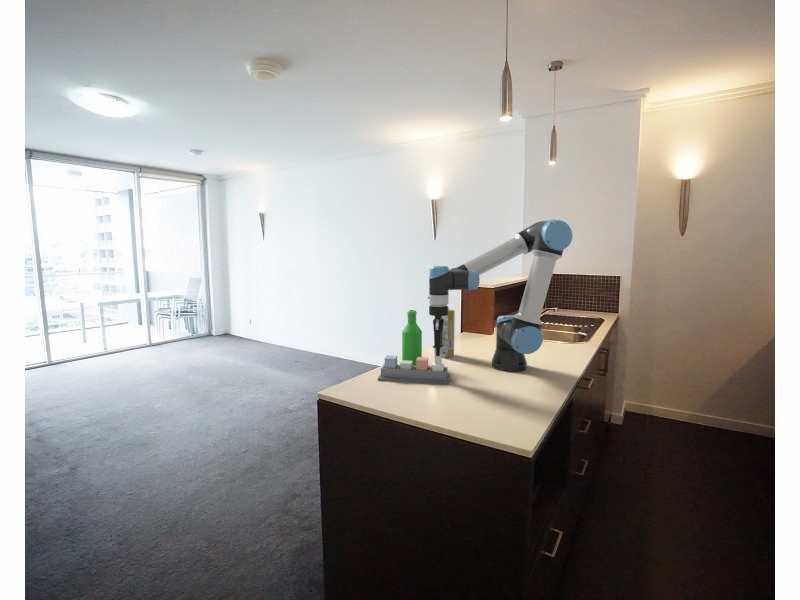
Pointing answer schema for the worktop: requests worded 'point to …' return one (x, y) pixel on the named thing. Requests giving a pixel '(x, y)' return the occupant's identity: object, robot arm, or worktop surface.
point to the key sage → (406, 364)
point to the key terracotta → (422, 363)
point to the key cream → (438, 367)
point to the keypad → (414, 375)
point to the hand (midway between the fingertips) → (438, 363)
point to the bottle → (411, 339)
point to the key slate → (390, 362)
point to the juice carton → (448, 334)
